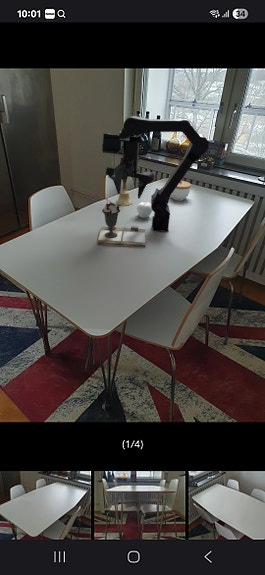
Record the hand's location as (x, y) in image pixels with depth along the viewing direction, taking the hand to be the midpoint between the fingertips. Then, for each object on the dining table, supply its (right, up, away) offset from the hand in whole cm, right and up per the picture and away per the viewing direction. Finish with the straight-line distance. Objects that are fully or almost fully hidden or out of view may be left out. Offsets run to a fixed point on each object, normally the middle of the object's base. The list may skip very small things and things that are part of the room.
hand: (128, 196), depth 126 cm
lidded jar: (+26, +10, +40) cm, 48 cm away
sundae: (-7, -16, -3) cm, 18 cm away
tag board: (-3, -17, -2) cm, 17 cm away
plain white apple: (+7, -4, +17) cm, 19 cm away
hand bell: (-3, +5, +31) cm, 31 cm away
